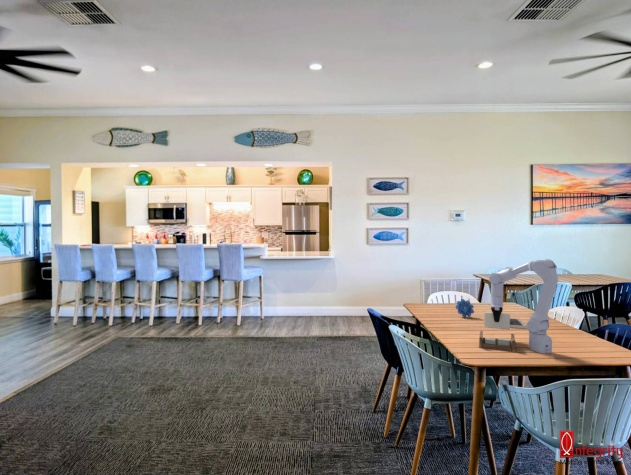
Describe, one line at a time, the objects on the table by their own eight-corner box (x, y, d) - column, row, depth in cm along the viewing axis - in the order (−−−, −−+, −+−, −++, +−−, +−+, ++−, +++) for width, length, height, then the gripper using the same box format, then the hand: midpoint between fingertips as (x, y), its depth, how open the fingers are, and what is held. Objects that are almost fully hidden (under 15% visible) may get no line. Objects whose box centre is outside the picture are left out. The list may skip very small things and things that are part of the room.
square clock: (492, 320, 257) (497, 328, 237) (492, 316, 257) (497, 323, 237) (519, 322, 253) (526, 330, 233) (519, 317, 253) (527, 325, 233)
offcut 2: (509, 350, 190) (509, 340, 190) (498, 348, 192) (498, 339, 192) (509, 348, 192) (509, 339, 192) (497, 347, 194) (498, 338, 194)
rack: (515, 353, 187) (515, 341, 187) (478, 349, 194) (478, 337, 194) (513, 340, 209) (513, 329, 209) (480, 336, 216) (480, 326, 216)
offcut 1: (495, 348, 192) (495, 340, 192) (485, 347, 194) (485, 339, 194) (495, 347, 195) (495, 338, 195) (485, 345, 197) (485, 337, 196)
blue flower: (456, 318, 261) (456, 299, 261) (454, 315, 268) (455, 298, 268) (475, 318, 259) (475, 300, 258) (473, 316, 265) (473, 298, 265)
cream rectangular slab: (509, 329, 206) (509, 314, 206) (484, 327, 211) (484, 312, 210) (509, 329, 207) (509, 313, 207) (484, 326, 212) (484, 311, 212)
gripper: (488, 293, 217) (488, 317, 217) (488, 297, 204) (488, 323, 204) (503, 293, 214) (502, 319, 214) (503, 298, 201) (503, 325, 201)
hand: (496, 321), depth 209 cm, fingers closed on cream rectangular slab, 2 cm apart
